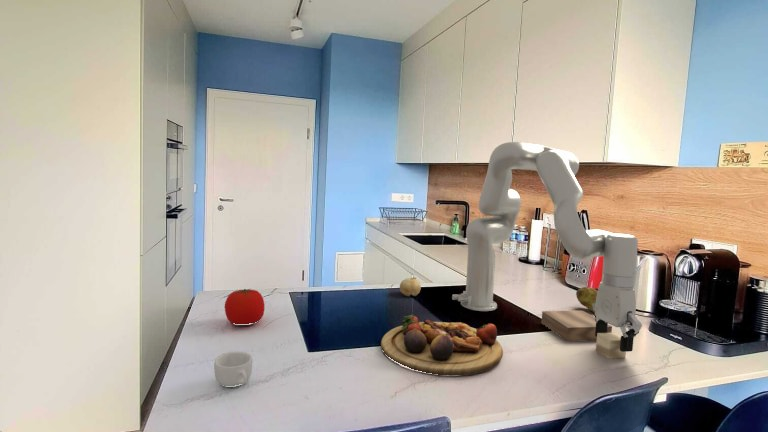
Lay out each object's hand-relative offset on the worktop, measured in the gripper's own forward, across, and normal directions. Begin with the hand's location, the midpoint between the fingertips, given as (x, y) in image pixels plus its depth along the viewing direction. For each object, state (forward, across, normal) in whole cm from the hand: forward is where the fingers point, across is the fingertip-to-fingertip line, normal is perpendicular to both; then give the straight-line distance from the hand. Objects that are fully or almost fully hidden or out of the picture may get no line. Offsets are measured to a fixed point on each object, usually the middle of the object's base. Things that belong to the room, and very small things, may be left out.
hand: (612, 343), depth 112 cm
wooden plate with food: (+3, -7, -45) cm, 46 cm away
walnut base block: (+3, -16, 0) cm, 17 cm away
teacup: (+3, +8, -95) cm, 96 cm away
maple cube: (+3, 0, 0) cm, 3 cm away
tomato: (+2, -28, -99) cm, 103 cm away
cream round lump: (+2, -55, -43) cm, 70 cm away
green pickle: (+3, -33, +19) cm, 38 cm away
